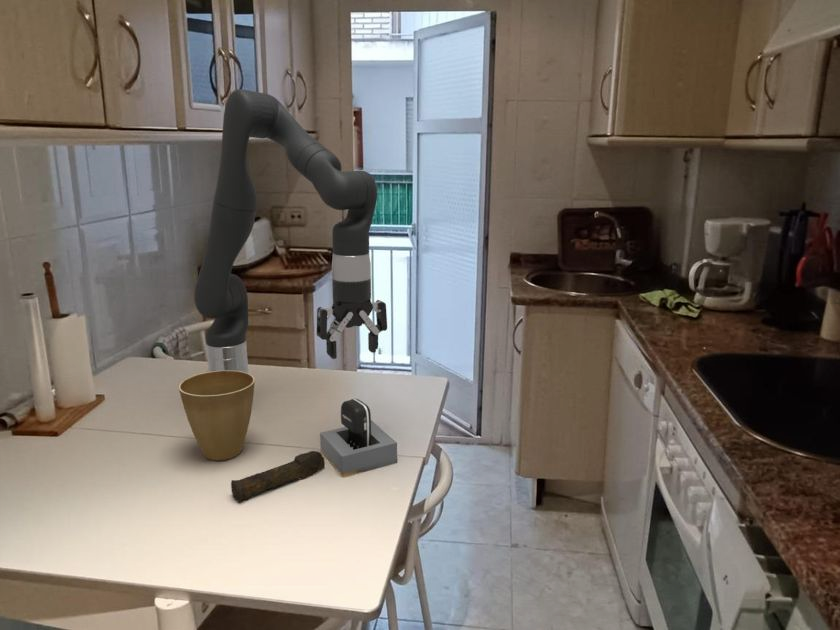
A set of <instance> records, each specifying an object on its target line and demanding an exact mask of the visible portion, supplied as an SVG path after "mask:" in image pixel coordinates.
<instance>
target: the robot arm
mask: <svg viewBox="0 0 840 630" xmlns="http://www.w3.org/2000/svg"><path fill="white" fill-rule="evenodd" d="M224 106H225V107H224V111H223V118H222V119H223V120H222V121H223V122H222V136H221V137H222V138H221V149H220V160H219V169H218V175H217V181H216V182H217V183H216V187H215V191H214V196H213V202H212V208H211V214H210V222H209V223H210V224H209V229H208V233H207V239H206V244H205V249H204V250H205V251H204V254H203V258H202V259H203V260H202V263H201V266H200V270H199V274H198V276H197V280H196V283H195V288H194V295H193V297H194V304H195V307H196V311H197V312H198V313H199V314H200V315H201V316H202V317H204V318H206V319H211V320H212V319H214V320H213V322H212V324H210V326H209V327H208V328H207V330H206V331H205V334H204V337H205V339H204V340H205V347H206V358H207V367H208V368H207V369H208V370H206V372H212V371H222V370H233V371H242V372H246V373H249V363H248V362H249V361H248V350H247V348H248V347H247V332H248V328H249V301H248V300H249V297H248V291H247V288H246V284H245V283H244V281H243V280H242V279H241V278H240V277H239V276H238V275H237V274H234V273H232V270H233V266H234V264H235V261H236V259H237V257H238V256H239V254H240V253H241V250H243V247H244V246H245V244H246V242H247V241H248V239H249V237H250V235H251V233H252V230H253V227H254V225H255V219H256V215H257V214H256V213H257V209H258V204H259V202H258V201H259V200H258V199H259V197H258V193H257V191H256V186H255V184H254V182H253V179H252V176H251V174H250V171H249V167H248V162H247V158H248V157H247V155H248V146H249V145H248V144H249V141H250V138H254V139H269V140H271V141H273V142H275V143H277V144H279V145H280V146H281V147H283V148H284V149H285V153H286V156H287V160H288V161H289V162H290V165H291V166H292V167H293V168H294V169H295V170H296V171H298V173H299V174H301V176H303V177H304V178H305V179H307V180H308V181H309V182H311V184H312V185H313V187H314V189H315V190H316V192H317V194H318V196H319V197H320V198H321V200H322V201H323V203H324V204H325V205H327V206H328V207H330V208H332V209H334V210H338V211H346V210H347V214H346V217H345V218H344V219H343V220H341V221H339V222H337V223H335V224H334V225H333V227H332V233H331V234H332V238H331V239H332V262H331V279H332V280H331V284H332V285H331V286H332V306H331V307H328V308H327V307H325V308H324V307H322V306H319V307H317V309H316V336H317V337H319V338H320V339H321V340H322V341H326V345H325V346H326V354H327V356H329V357H330V358H331V359H332V360H334V359H335V360H336V359H337V358H338V357H337V355H338V354H337V350H338V349H337V338H338V336H339V335H340V333H342V332H343V330H345V328H346V329H348V328H349V329H350V328H353V327H362V325H364V326H365V327H366V328H367V330H368V331H369V332H368V334H367V336H368V338H367V339H368V340H367V342H368V344H367V345H368V346H367V347H368V351H369V352H371V353H376V351H377V350H378V348H379V334H380V333H381V332H383V331H387V330H388V317H387V304H386V302H384V301H382V300H379V299H377V300H376V301H375V302H372V301H371V299H372V268H371V267H372V266H371V265H372V263H371V257H370V229H371V226H372V223H373V218H374V213H375V210H376V206H377V203H378V202H377V201H378V188H377V183H376V181H375V178H374V176H373V175H371V173H369V172H367V171H366V170H344V171H342V163H341V160H340V159H339V158H338V156H337V155H336V154H335V153H334V152H332V151H330V150H329V149H328V148H327V147H326V146H324V145H323V144H321V143H320V142H319V141H318V140H317V139H315V138H314V137H313V136H312V135H311V134H309V133H308V132H307V131H306V130H305V129H304V128H303V126H301V125H300V124H299V122H298V121H297V120H296V119H295V117H293V116H292V114H291V113H290V112H289V111H288V110H287V108H286V107H285V106H284V105H283V104H282V103H281V102H280V101H279V100H278V99H277V98H276V97H275V96H273V95H271V94H268V93H265V92H264V93H263V92H258V91H254V90H250V89H249V90H247V89H242V88H240V89H239V88H236V89H234V90H233V91H232V92H231V93H229V96H228V97H227V99H226V102H225V105H224ZM372 311H374V312H375V317H376V324H375V322H373V321H372V319H371V318H370V317H369V316H370V315H371V312H372ZM331 315H332V316H333V317H334V318H333V321H331V323H330V326H329V328H328V320H329V319H330V317H331ZM249 374H250V373H249Z"/></svg>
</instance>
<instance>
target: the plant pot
mask: <svg viewBox="0 0 840 630" xmlns="http://www.w3.org/2000/svg"><path fill="white" fill-rule="evenodd" d="M255 382H256V379H255V376H253V375H252V374H250V373H246V372H242V371H233V370H222V371H212V372H207V371H206V372H201V373H198V374H194V375H192V376H189V377H187V378H186V379H184V380H183V381H181V382H180V384H179V385H178V391H179V395H180V399H181V402H182V407H183V409H184V412H185V415H186V418H187V421H188V424H189V427H190V428H191V431H192V433H193V435H194V438H195V440H196V442H197V444H198V446H199V448H200V450H201V452H202V454H203V455H204V457H205V458H206V459H208V460H210V459H211V461H215V460H221V461H226V460H227V459H228V460H231V459H234V458H235V457H237V456H239V455H240V453H242V449H243V446H244V443H245V440H246V437H247V433H248V429H249V425H250V419H251V416H252V410H253V403H254V395H255V394H254V392H255V384H256V383H255ZM238 454H239V455H238ZM233 457H234V458H233Z"/></svg>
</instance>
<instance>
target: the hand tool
mask: <svg viewBox="0 0 840 630" xmlns="http://www.w3.org/2000/svg"><path fill="white" fill-rule="evenodd" d="M325 464H326V462H325V458H324V456H323V454H322V453H321V451H320V452H319V451H318V450H311V451H308V452H304V453H299V454H297V455H296V456H294V460H292V461H290V462H287V463H284V464H281V465H279V466H276V467H273V468H270V469H267V470H264V471H261V472H259V473H258V472H257V473H256V474H252V475H250V476H246V477H244V478H241V479H236V480H233V479H231V481H230V486H231V487H230V489H231V494H232V496H233V498H234V500H236V501H237V502H238V503H241V502H242V501H243V500H245V499H246V500H249V499H250V497H251V496H254V495H256V494H259V493H261V492H262V493H263V492H264V491H267V490H269V489H273V488H275V487H278V486H281V485H284V484H286V483H289V482H291V481H293V480H297V479H299V480H305V479H308V478H309V476H310V477H312V476H313V474H314V475H315V474H318V473H319V472H320V471H321V470H323V469H324V468H325ZM311 475H312V476H311ZM307 477H308V478H307Z"/></svg>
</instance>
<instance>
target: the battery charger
mask: <svg viewBox="0 0 840 630" xmlns="http://www.w3.org/2000/svg"><path fill="white" fill-rule="evenodd" d="M371 417H372V415H371V409H370V407H369V405H368V404H367V403H365V402H363V401H362V400H360V399H359V398H351V399H349V400H345V401H343V402H342V404H341V406H340V423H341V425H343V427H347V428H348V440H347V444H348V445H349V446H350V447H351V448H352V449H353V450H355V449H359V448H363V447H367V446H371V421H372V418H371Z"/></svg>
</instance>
